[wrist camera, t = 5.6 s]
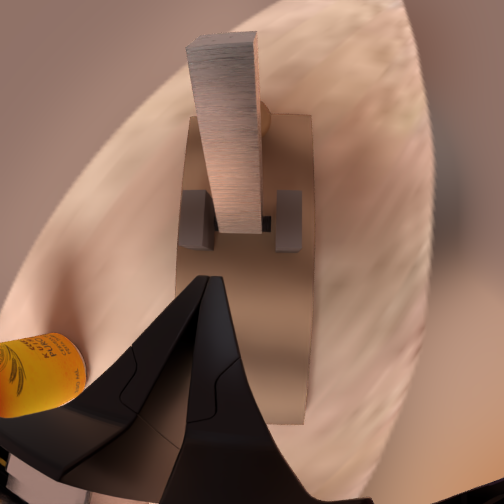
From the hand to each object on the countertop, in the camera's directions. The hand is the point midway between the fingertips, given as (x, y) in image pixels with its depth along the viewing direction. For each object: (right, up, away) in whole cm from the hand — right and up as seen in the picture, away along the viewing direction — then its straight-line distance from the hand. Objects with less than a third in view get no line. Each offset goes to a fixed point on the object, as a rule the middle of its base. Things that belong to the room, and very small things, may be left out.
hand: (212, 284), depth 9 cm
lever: (+1, +3, +8) cm, 9 cm away
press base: (+1, 0, +11) cm, 11 cm away
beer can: (-15, -9, +11) cm, 21 cm away
